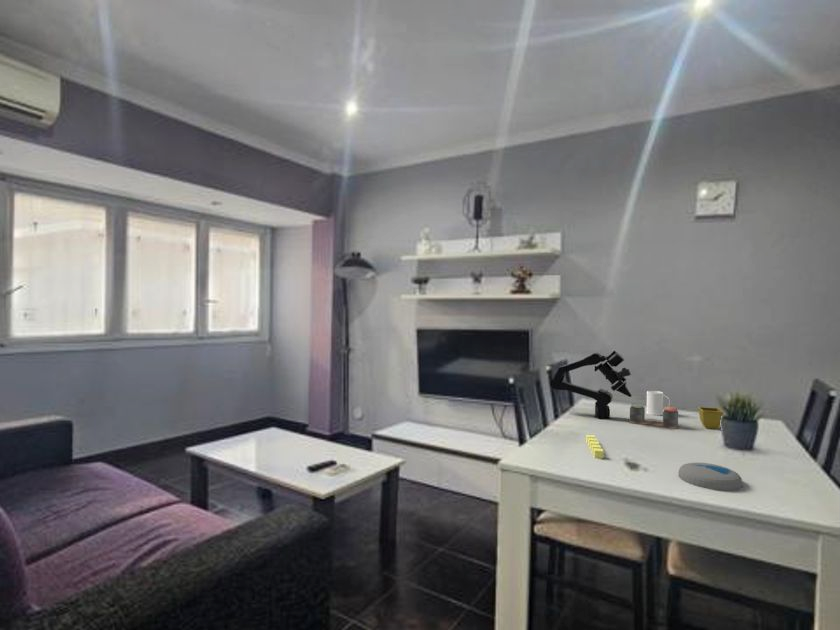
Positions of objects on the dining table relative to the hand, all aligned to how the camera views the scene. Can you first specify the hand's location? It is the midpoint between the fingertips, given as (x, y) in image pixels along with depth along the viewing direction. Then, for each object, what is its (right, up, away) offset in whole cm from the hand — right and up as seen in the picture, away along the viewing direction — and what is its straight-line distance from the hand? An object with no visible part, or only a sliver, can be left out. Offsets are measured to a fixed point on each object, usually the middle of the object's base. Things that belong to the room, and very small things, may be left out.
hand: (630, 396), depth 243 cm
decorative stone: (-10, -15, -82) cm, 84 cm away
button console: (+9, -13, -6) cm, 17 cm away
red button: (+15, -9, -10) cm, 20 cm away
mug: (+22, -13, +16) cm, 30 cm away
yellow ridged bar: (-34, -14, -48) cm, 61 cm away
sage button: (+2, -9, -2) cm, 9 cm away
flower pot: (+34, -13, -11) cm, 38 cm away
